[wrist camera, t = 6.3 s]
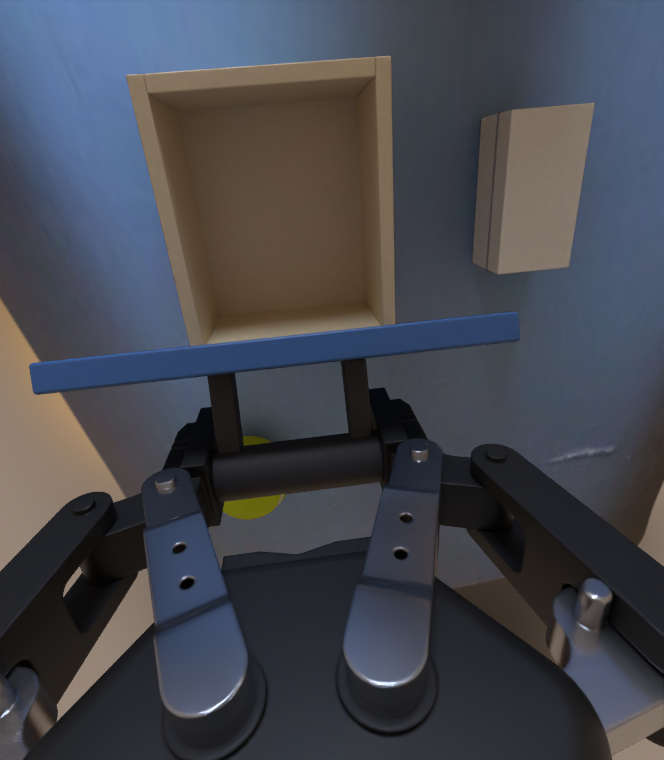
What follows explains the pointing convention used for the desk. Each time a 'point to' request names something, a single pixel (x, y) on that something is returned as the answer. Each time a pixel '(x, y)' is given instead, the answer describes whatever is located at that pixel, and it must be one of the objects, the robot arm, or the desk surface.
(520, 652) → the robot arm
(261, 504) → the tennis ball
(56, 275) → the desk surface
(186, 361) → the blue lid
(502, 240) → the beige case
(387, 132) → the storage box
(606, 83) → the desk surface
